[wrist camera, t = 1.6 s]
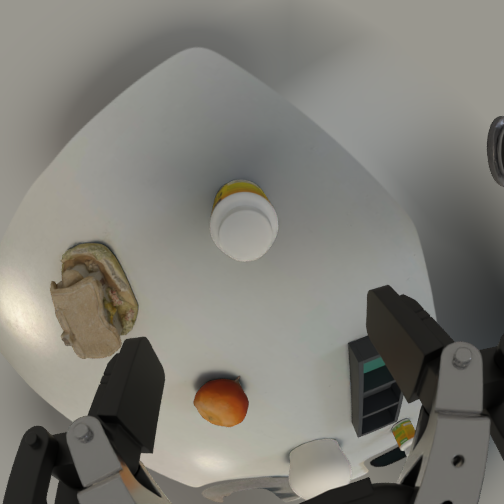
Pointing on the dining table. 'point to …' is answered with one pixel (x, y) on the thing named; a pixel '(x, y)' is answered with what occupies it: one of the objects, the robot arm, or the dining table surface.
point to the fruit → (222, 402)
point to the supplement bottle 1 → (243, 221)
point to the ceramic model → (93, 301)
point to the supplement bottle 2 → (404, 434)
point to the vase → (318, 468)
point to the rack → (371, 389)
